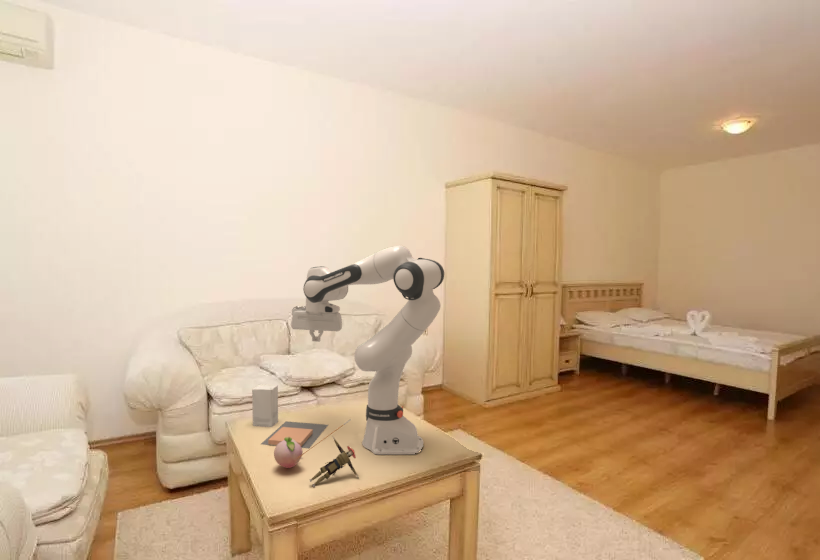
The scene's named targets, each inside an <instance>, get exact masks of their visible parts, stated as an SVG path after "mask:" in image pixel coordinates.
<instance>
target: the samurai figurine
mask: <svg viewBox="0 0 820 560" xmlns="http://www.w3.org/2000/svg"><path fill="white" fill-rule="evenodd" d="M351 420H352V419H349V420H347V421H346V422H345V423H343V424H342V425H340V426H339V427H338V428H336V429H335V430H334V431H332V432H331V433H329V434H328V435H327V436H326V437H323V438H322V440H320V441H318V442H317V443H315V444H314V445H312V446H311V447H310V448H308V450H307V451H305V452H303V453H302V455H301V456H303V455H305V454H306V453H307V452H309V451H310V450H311V449H313V448H315V446H317V445H318V444H320V443H322V442H323V441H324V440H326V439H327V438H328V437H329V436H331V437H332V439H333V442H334V443H335V445H336V448H337V449H338V451H339V454H338V455H337V456H336V457H335V458H333V459H332V460H330V461H327V462H325V463H324V464H325V465H324V466H321V467H320V468H319V469H320V471H318V472H317V473H315V475H314V476H313V477H312V478H310V479H309V482H312V481H314V480H316V479H317V478H318V479H317V480H316V481H315V482H314V483H313V484H312V487H313V488H315V487H316V485H318V484H320V483H321V482H323V481H324V480H325V479H326V480H327V481H328V480H329V479H330V477H331V476H332V477H333V476H335V474H336V473H337V472H338V470H339V471H340V470H341V469H343V468H344V467H346V464H347V466H348V467H349V468H350V470H351V471H352V473H353V474H355V475H356V478H357V479H359V475H358V473H357V472H356V470H355V467H354V466H353V464H352V462H351V457H352V458H354V459H356V458H357V457H356V453H355V450H354V449H353V448H352V447H350V446H349V445H347V450H348V451H346V450H344V449H343V447H341V445H340V444H339V442H338V441H337V440H336V439H335V437H334V435H332V434H333V433H334V432H337V430H339V429H340V428H341V427H343V426H345V425H346V424H348V423H349V422H350V421H351ZM299 457H300V456H299ZM299 457H298V458H299ZM298 458H297V459H298ZM322 474H323V475H322ZM355 475H354V476H355Z"/></svg>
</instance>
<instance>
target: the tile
mask: <svg viewBox="0 0 820 560" xmlns="http://www.w3.org/2000/svg"><path fill="white" fill-rule="evenodd" d="M312 434H313V429H302V428H290V427H282V428H281V429H280V430H279V431H278V432H276V433H275V434H274V435H273V436H272V437H271V438H270V439H269V440H268V444H269V445H268V446H274V445H276V446H277V445H278V444H279V443H280V442H282V441H283V440H284V438H285V437H291V438H292V439H293V440H295V441H296V442H297V443H298V444H299V445H300V446H302V445H303V444H304V443H305V442H306V441H307V440H308V438H309V437H310V436H311V435H312ZM276 446H275V447H276Z"/></svg>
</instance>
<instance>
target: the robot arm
mask: <svg viewBox="0 0 820 560" xmlns="http://www.w3.org/2000/svg"><path fill="white" fill-rule="evenodd" d="M391 280H392V281H393V283H394V286H395V287H396V289H397V290H398V292H400V294H401V295H402V297H403V299H405V300H407V302H406V303H405V305H403V306H402V308H401V309H400V310H399V312H397V314H396V315H395V316H394V317H393V319H392V320H391V321H390V322H389V323H387V324H386V325H385V326H384V327H382V328H381V329H380V330H379V331H378V332H377V333H375V334H374V335H373V336H372V337H370V338H369V339H367V340H366V341H365V342H363V343H361V344H360V345H358V346H357V347H356V349H355V351H354V356H353V357H354V362H355V364H356V366H357V368H358V369H359V370H361V371H363V372H375V374H374V376H373V377H372V379H370V381H369V383H368V386H367V387H368V389H367V405H366V408H365V420H366V424H365V430H364V434H363V435H364V436H363V439H362V442H361V444H362V446H363V447H364V448H365V449H367V450H369V451H371V452H372V453H373V454H374V455H416V454H415V453H418V452H419V451H420V450H421V449H422V447H423V448H424V445H423V444H424V440H423V438H422V437H421V436H420V435H418V434H419V433H418V430H417V427H416V425H415V424H414V423H413V422H412V421H410V420H409V419H407V417H405V416H404V406H403V405H401V406H400V405H399V389H400V383H401V378H402V375H403V372H404V369H405V366H406V364H407V362H408V361H409V360H410V358H411V357H412V355H413V347H412V345H413V344H414V343H415V342H416V341H417V340H418V339H419V338H420V337H421V336H422V335H423V334H424V333H425V331H427V329H428V328H429V327H430V325H432V323H433V322H434V321H435V318H436V317H437V315H438V314H439V312H440V310H441V302H440V299H439V298H438V297H437V295H436V294H435V293H434V290H435V289H437V288H438V287H439V286H441V284H443V282H444V280H445V270H444V268H443V266H442V265H441V264H440V263H439V262H438V261H436V260H434V259H430V258H429V259H428V258H424V257H418V258H414V257H413V255H412V253H411V251H410V249H408V248H407V247H406V246H403V245H402V244H399V245H394V246H390V247H387V248H384V249H381V250H379V251H376V252H374V253H373V254H370V255H368V256H367V257H364V258H362V259H360V260H358V261H356V262H354V263H351V264H350V265H347V266H345V267H342V268H339V269H337V270H334V271H331V270H330V269H329V268H328V267H327V266H314V267H310V268H309V269H308V271H307V274H306V280H305V282H304V283H303V287H302V289H303V294H304V296H305V306H303V305H302V306H299V305H296V306H294V307H293V308H292V309H291V316H292V317H291V323H290V325H291V328H292V330H299V331H300V330H301V331H302V330H303V331H305V330H306V331H309V334H310V336H311V342H321V337H322V335H323V334H324V331H325V332H339V331H341V330H342V329H343V321H342V320H343V319H342V314H341V313H340V311H341V307H340V306H338V305H336V304H333V303H331V302H332V301H340V300H343V299H344V298H346V296H347V294H348V292H349V286H354V285H377V284H378V285H379V284H384V283H386V282H388V281H391ZM315 331H318V336H316V335H315V333H316V332H315ZM422 450H423V449H422ZM422 450H421V451H422ZM419 453H420V452H419ZM419 453H418V454H419Z"/></svg>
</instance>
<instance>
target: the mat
mask: <svg viewBox="0 0 820 560" xmlns="http://www.w3.org/2000/svg"><path fill="white" fill-rule="evenodd" d="M328 426H329V424H324V423H322V424H321V423H312V422H298V421H285V422H283V424H281V425H280V426H279V427H278V428H277V429H275V431H273V432H272V433H271V434H270V435H269V436H268V437H266V439H265V440H264V441H262V442H261V443H260V445H263V446H264V445H265V446H266V445H267V446H270V445H269V444H268V440H269V439H270V438H271V437H272V436H273V435H274V434H275V433H276V432H278V431H279V430H280V429H281V428H282V427H290V428H302V429H313V434H312V435H311V436H310V437H309V438H308V440H307V441H306V442H305V443H304V444H303V445H302V446H301V448H302V449H310V448H312V447H313V446H314V445H313V444H314V443H315V442H316V441H317V440H318V438H320V436H321V434H322V433H324V431H325V430H326V429H327V428H328ZM273 446H275V447H276V445H273Z"/></svg>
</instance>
